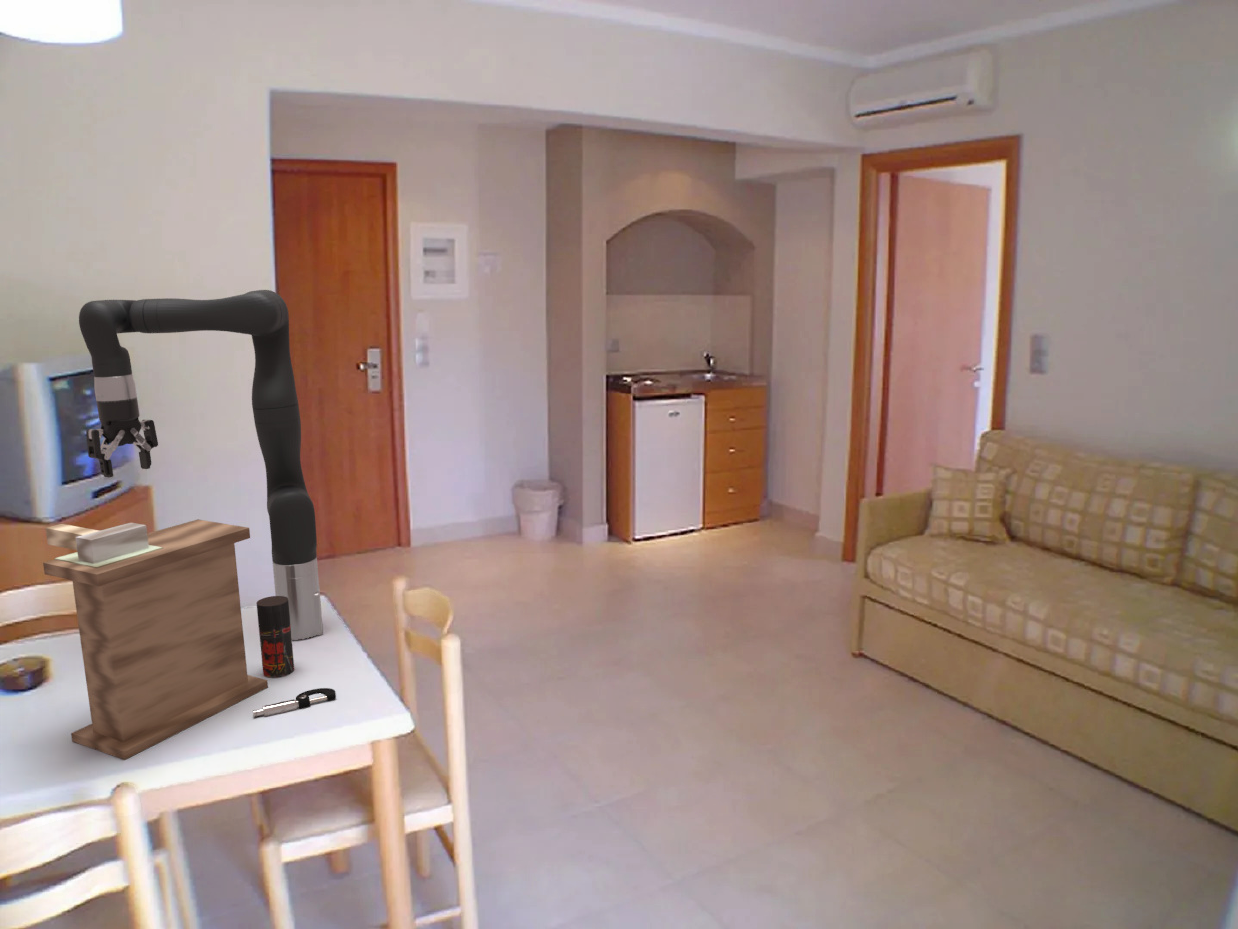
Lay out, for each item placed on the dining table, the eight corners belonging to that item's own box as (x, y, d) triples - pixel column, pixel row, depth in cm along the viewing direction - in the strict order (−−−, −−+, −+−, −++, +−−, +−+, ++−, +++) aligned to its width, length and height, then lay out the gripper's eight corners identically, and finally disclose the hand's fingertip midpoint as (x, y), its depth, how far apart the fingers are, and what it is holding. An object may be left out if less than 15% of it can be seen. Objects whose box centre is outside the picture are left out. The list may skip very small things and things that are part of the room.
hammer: (27, 549, 158) (24, 527, 157) (83, 535, 166) (80, 513, 165) (94, 563, 150) (90, 540, 149) (148, 547, 158) (146, 525, 157)
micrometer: (331, 688, 178) (330, 676, 177) (339, 702, 171) (338, 690, 171) (249, 706, 170) (247, 693, 170) (254, 722, 164) (253, 709, 164)
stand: (68, 740, 158) (42, 561, 151) (214, 673, 184) (197, 518, 177) (125, 760, 151) (100, 574, 144) (267, 687, 177) (252, 527, 170)
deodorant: (257, 672, 184) (250, 601, 181) (285, 662, 188) (279, 593, 185) (271, 680, 180) (265, 608, 177) (299, 671, 184) (293, 600, 181)
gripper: (95, 402, 183) (107, 481, 186) (158, 393, 195) (169, 467, 198) (72, 401, 186) (84, 478, 190) (136, 391, 198) (146, 464, 202)
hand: (127, 472), depth 194 cm, fingers open, 8 cm apart
